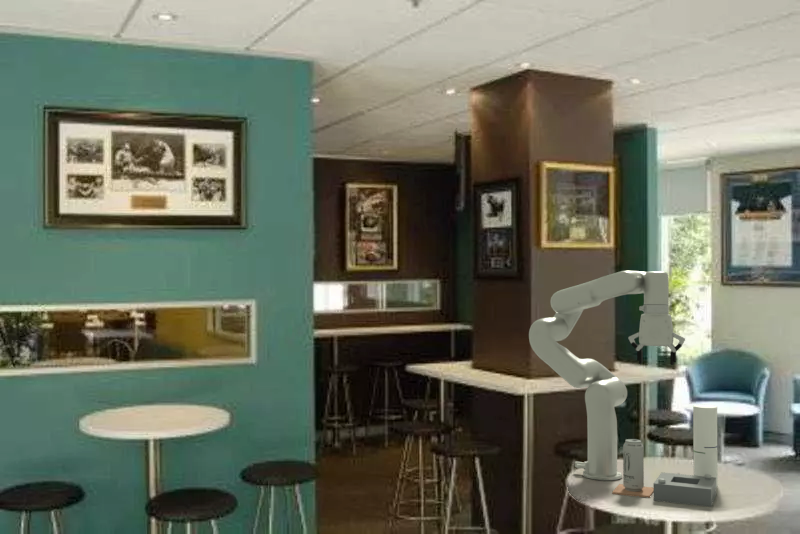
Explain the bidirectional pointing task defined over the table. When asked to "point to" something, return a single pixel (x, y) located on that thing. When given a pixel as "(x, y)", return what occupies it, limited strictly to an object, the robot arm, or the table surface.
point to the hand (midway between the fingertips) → (656, 363)
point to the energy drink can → (633, 465)
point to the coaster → (644, 493)
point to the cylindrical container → (705, 440)
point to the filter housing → (685, 489)
